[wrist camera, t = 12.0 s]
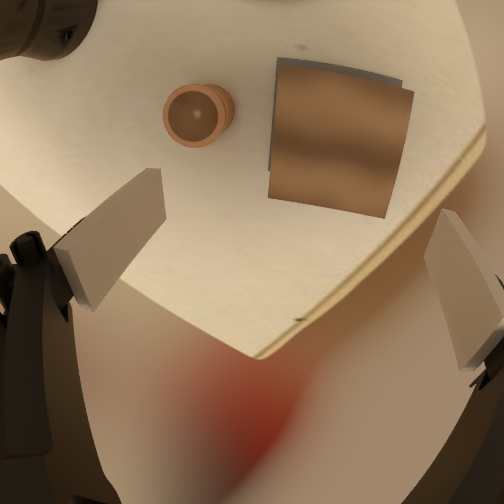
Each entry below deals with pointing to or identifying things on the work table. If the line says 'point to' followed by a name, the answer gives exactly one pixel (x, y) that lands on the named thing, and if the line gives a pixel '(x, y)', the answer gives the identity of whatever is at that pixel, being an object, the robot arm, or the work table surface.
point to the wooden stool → (337, 140)
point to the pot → (197, 114)
